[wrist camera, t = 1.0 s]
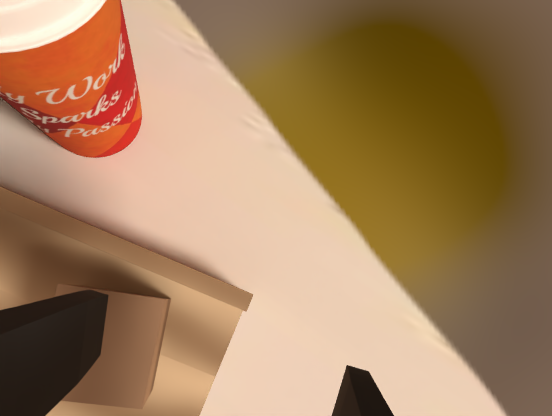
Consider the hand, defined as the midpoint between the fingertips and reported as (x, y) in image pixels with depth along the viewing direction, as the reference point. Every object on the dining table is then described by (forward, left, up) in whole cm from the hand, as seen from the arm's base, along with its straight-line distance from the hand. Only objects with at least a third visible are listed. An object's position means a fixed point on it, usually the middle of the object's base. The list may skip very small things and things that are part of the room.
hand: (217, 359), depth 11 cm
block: (-2, +5, -13) cm, 14 cm away
